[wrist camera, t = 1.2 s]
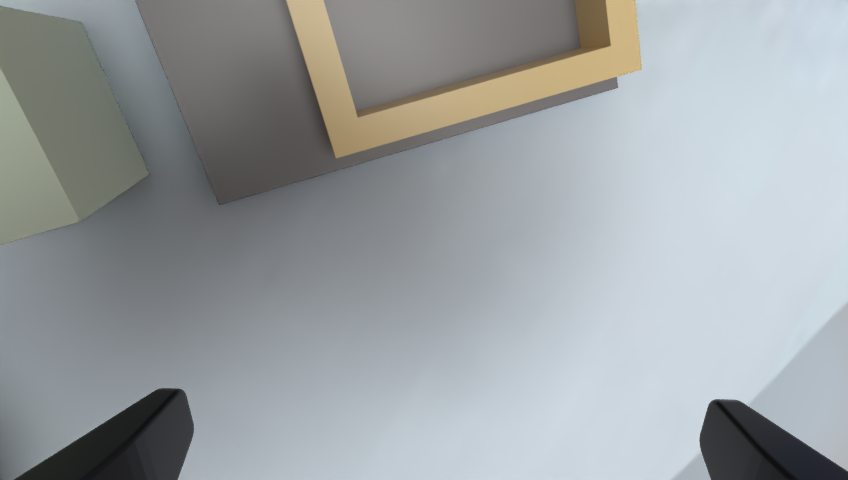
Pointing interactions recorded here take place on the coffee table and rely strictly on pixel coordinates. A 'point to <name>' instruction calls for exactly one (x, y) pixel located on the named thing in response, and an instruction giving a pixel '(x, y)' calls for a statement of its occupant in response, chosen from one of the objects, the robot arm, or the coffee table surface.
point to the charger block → (57, 127)
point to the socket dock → (371, 75)
